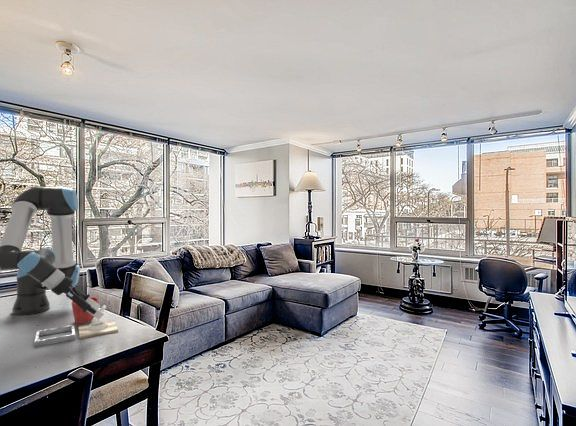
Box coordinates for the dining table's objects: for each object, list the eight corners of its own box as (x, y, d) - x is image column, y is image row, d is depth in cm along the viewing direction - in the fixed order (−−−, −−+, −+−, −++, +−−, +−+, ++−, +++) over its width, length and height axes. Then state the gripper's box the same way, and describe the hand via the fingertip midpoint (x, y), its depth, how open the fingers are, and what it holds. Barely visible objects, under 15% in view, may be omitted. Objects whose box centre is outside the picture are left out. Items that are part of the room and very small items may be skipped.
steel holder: (36, 335, 133) (36, 330, 133) (74, 329, 140) (74, 324, 140) (34, 346, 122) (34, 341, 122) (75, 339, 130) (75, 334, 130)
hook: (113, 318, 137) (98, 310, 135) (98, 339, 138) (82, 332, 136) (119, 309, 144) (105, 301, 142) (105, 329, 145) (90, 322, 143)
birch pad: (78, 328, 142) (78, 326, 142) (113, 322, 150) (113, 320, 150) (79, 338, 130) (79, 336, 130) (118, 331, 138) (118, 329, 138)
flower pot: (103, 318, 155) (103, 298, 155) (82, 325, 145) (82, 304, 145) (87, 315, 159) (87, 296, 158) (65, 322, 148) (65, 302, 148)
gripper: (50, 283, 140) (90, 311, 149) (49, 296, 120) (95, 328, 129) (65, 270, 143) (103, 298, 152) (66, 281, 123) (110, 313, 132)
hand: (99, 312), depth 140 cm, fingers open, 13 cm apart
